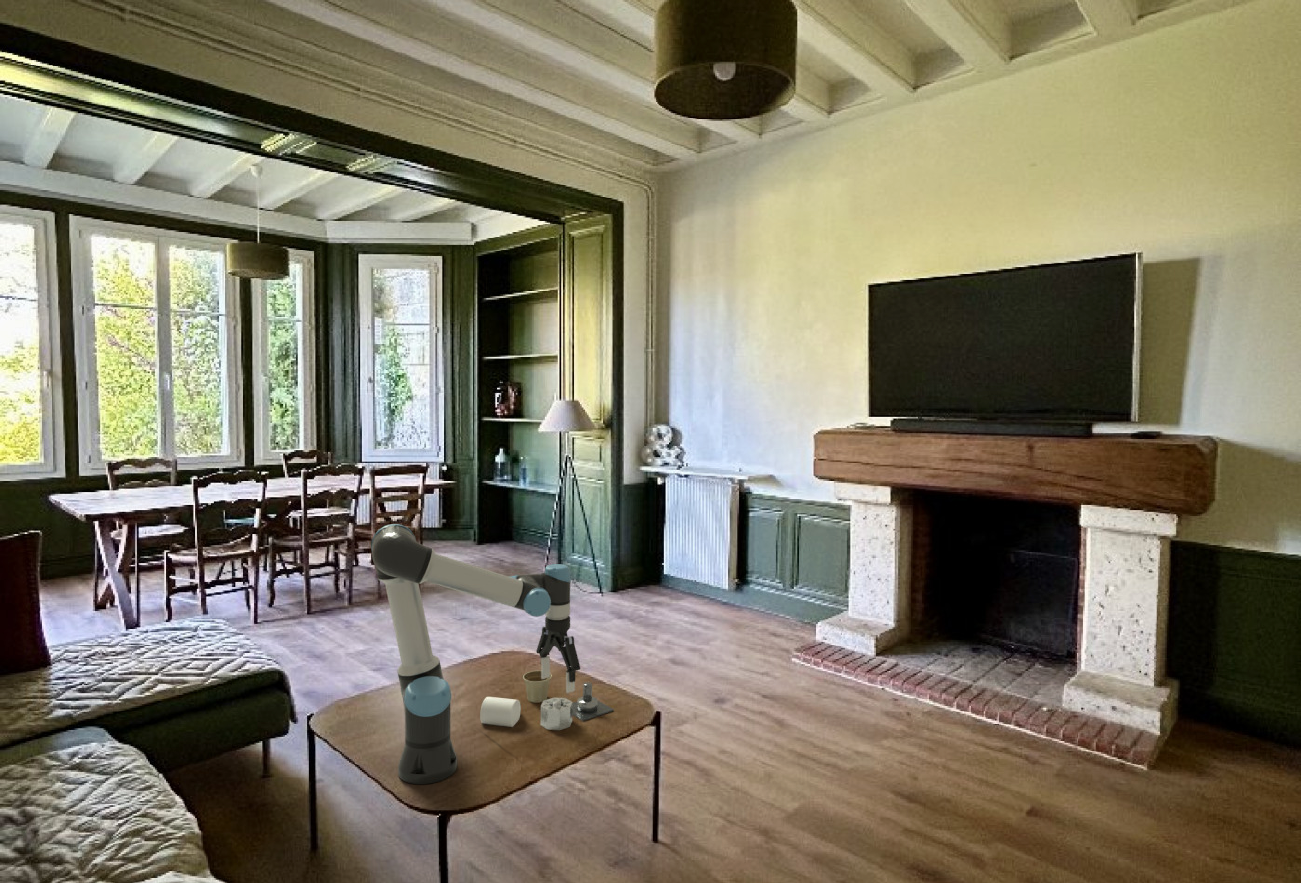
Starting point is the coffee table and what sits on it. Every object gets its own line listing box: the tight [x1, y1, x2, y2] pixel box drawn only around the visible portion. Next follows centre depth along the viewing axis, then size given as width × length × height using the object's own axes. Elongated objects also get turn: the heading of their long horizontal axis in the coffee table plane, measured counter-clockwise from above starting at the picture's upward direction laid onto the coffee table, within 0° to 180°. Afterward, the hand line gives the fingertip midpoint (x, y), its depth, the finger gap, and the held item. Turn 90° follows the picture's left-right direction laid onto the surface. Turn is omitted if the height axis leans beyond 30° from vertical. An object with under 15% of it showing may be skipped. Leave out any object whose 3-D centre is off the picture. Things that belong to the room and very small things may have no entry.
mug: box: [479, 696, 521, 728], centre depth 223 cm, size 12×10×8 cm
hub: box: [572, 681, 615, 722], centre depth 231 cm, size 12×12×9 cm
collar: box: [540, 697, 573, 731], centre depth 221 cm, size 9×9×6 cm
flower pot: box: [522, 670, 553, 703], centre depth 238 cm, size 9×9×9 cm
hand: (557, 684), depth 220 cm, fingers open, 13 cm apart
